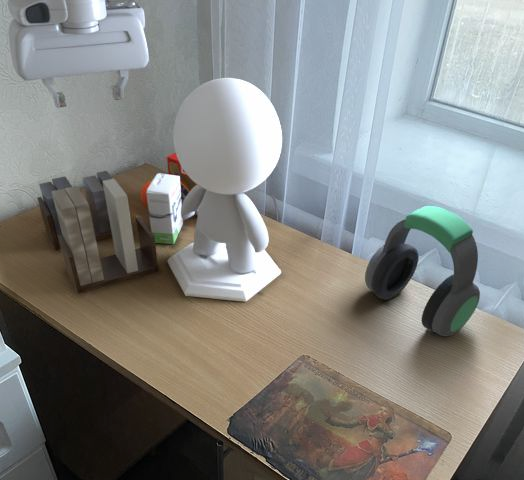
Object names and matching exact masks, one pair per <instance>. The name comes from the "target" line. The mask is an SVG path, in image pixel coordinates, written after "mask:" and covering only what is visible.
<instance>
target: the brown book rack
mask: <svg viewBox="0 0 524 480" xmlns="http://www.w3.org/2000/svg"><path fill="white" fill-rule="evenodd" d="M51 192H52V196H53V200H54V204H55V208H56V212H57V216H58V220H59V224H60V228H61V231H62V235H63V236H62V235H58V236H57V237H58V240H59V244H60V248H61V249H60V252H61V255H62V259H63V263H64V267H65V270H66V273H67V275H68V277H69V278H70V281H71V282H72V285H73V286H74V288H75V290H76V292H77V294H80V293H83V292H84V293H85V292H87V291H91V290H95V289H99V288H102V287H105V286H109V285H112V284H116V283H120V282H124V281H127V280H132V279H134V278H137V277H141V276H145V275H149V274H152V273H156V272H158V271H159V265H158V256H157V248H156V247H157V246H156V243H155V238H154V235H153V234H152V232H151V229H150V228H149V227H148V226H147V224H146V223H145V222H144V220H143V219H142V217H140V216H136V217H135V222H136V223H135V224H136V229H137V237H138V245H139V247H137V248H135V252H136V259H137V266H138V271H135V272H131V273H127V272H126V270H125V269H124V267H123V266H122V264H121V263H120V261H119V259H118V258H117V256H116V254H115V253H114V254H110V255H107V256H103V257H100V252H99V248H98V243H97V242H98V241H97V240H96V238H95V233H94V228H93V223H92V218H91V213H90V208H89V204H88V201H87V198H86V197H85V196H84V195H83V193H82V191H81V190H80V188H79V186H77V185H75V186H72V187H70V188H65V190H64V189H60V190H55V191H51Z"/></svg>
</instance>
